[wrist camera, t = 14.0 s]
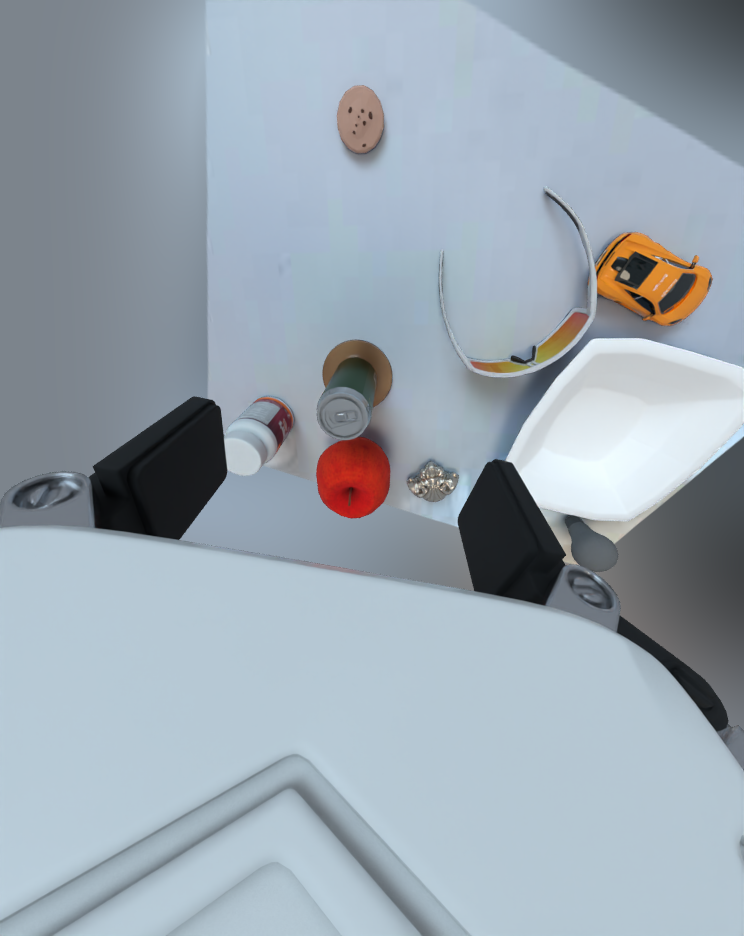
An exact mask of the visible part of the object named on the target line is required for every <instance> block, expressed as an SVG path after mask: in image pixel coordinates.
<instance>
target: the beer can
mask: <svg viewBox="0 0 744 936" xmlns="http://www.w3.org/2000/svg"><path fill="white" fill-rule="evenodd" d="M376 384H377V375H376V372H375V370H374V368H373V367H372V365H371V364H370V363H369V362H367V361H366V360H364V359H361V358H358V357H351V358H348V359H345V360H344V361H342V362H341V363H340V364H339V366H338V367H337V369H336V371H335V372H334V374H333V376H332V378H331V380H330V381H329V383H328V385H327V387H326V389H325V390H324V392H323V394H322V396H321V397H320V399H319V401H318V405H317V420H318V423H319V425H320V427H321V429H322V430H323V431H324V432H325V433H326V434H327V435H329V436H331V437H332V438H335V439H338V440H351V439H354V438H356V437H358V436H359V435H361V434H362V433H363V431H364V430H365V429H366V428H367V426H368V425H369V422H370V419H371V414H372V408H373V402H374V396H375V390H376Z"/></svg>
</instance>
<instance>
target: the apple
mask: <svg viewBox="0 0 744 936" xmlns="http://www.w3.org/2000/svg"><path fill="white" fill-rule="evenodd" d="M316 476H317V484H318V491H319V495H320V497H321V499H322V501H323V503H324V504H325V505H326V506H327V507H328V508H329V509H331V510H332V511H334V512H336V513H337V514H339V515H341V516H344V517H348V518H361V517H363V516H366V515H369V514H371V513H372V512H373V511H375V510H376V509H377V508H378V507H379V506H380V505H381V504H382V503H383V502H384V500H385V498H386V496H387V494H388V491H389V486H390V465H389V461H388V458H387V456H386V454H385V453H384V451H383V450H382V448H381V447H380V446H378V445H377V444H376V443H374V442H373V441H371V440H369V439H367V438H364V437H356V438H354V439H351V440H342V441H339V442H337V443H335V444H333V445H331V446H330V447H328V448H327V449H326V450H325V451H324V452H323V453H322V455H321V456H320V458H319V461H318V465H317V472H316Z"/></svg>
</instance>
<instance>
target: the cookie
mask: <svg viewBox="0 0 744 936" xmlns="http://www.w3.org/2000/svg"><path fill="white" fill-rule="evenodd" d="M337 125H338V131H339V134H340V136H341V139H342V141H343V142H344V144H345V145H346V146H347V147H348V149H350V150H352V151H353V152H355V153H367V152H368V151H370V150H372V149H373V148H374V147H375V146H376V144H377V143H378V141H379V140H380V138H381V134H382V131H383V128H384V113H383V110H382V106H381V103H380V100H379V99H378V97H377V96H376V94H375V93H374V91H373V90H371V89H369V88H368V87H366V86H364V85H361V86H353V87H352V88H350V89H349V90H347V91H346V92H345V94H344V96H343V97H342V99H341V101H340V103H339V108H338V112H337Z"/></svg>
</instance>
